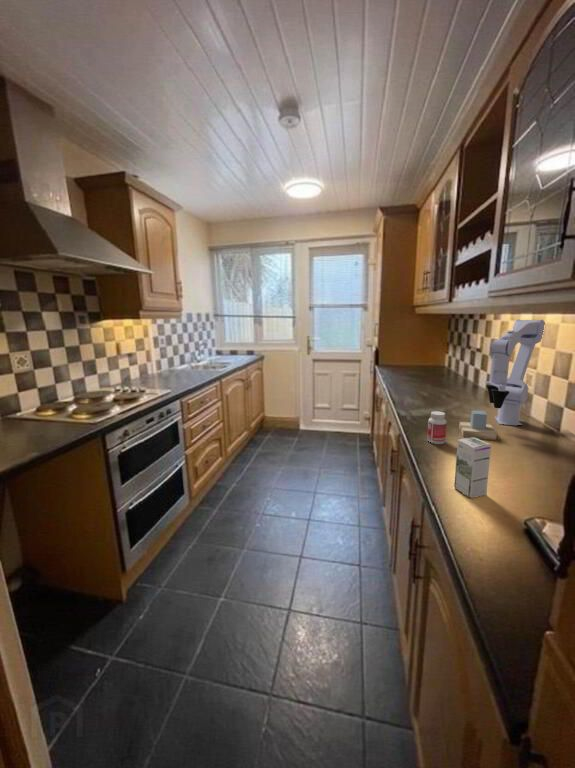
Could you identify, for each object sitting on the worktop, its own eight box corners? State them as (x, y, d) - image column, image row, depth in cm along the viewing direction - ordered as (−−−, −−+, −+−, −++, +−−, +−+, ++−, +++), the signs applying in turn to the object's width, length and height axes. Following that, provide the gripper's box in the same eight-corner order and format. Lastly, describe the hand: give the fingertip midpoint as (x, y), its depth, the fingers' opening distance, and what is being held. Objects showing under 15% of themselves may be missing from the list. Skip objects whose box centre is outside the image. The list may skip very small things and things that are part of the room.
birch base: (459, 427, 138) (459, 421, 138) (489, 429, 135) (490, 423, 134) (463, 436, 128) (463, 430, 128) (496, 439, 125) (497, 433, 124)
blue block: (470, 424, 134) (471, 410, 132) (483, 425, 132) (484, 411, 131) (472, 428, 130) (473, 413, 128) (485, 429, 128) (487, 414, 127)
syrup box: (487, 495, 89) (492, 443, 86) (469, 499, 87) (474, 446, 84) (470, 485, 94) (474, 436, 91) (452, 488, 92) (456, 438, 89)
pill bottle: (448, 442, 124) (450, 413, 121) (438, 446, 120) (440, 416, 118) (433, 437, 129) (435, 409, 126) (423, 441, 126) (425, 412, 123)
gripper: (483, 367, 137) (480, 400, 139) (491, 373, 123) (487, 409, 126) (503, 368, 134) (499, 401, 137) (513, 374, 121) (509, 411, 124)
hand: (495, 405), depth 131 cm, fingers open, 7 cm apart
